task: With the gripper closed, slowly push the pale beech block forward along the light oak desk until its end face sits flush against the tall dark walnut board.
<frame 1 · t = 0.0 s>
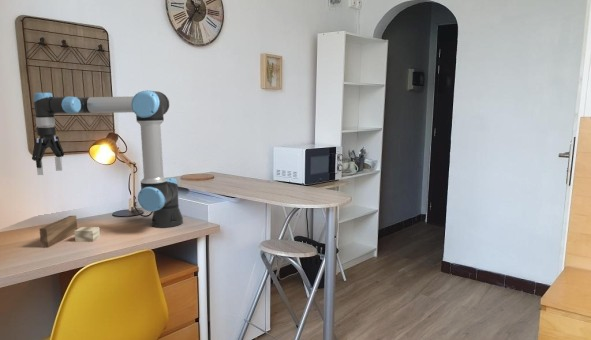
hand: (50, 172, 201), 28 cm above the table, fingers open, 13 cm apart
beech block: (88, 240, 190), on the table
walnut board: (60, 239, 191), on the table
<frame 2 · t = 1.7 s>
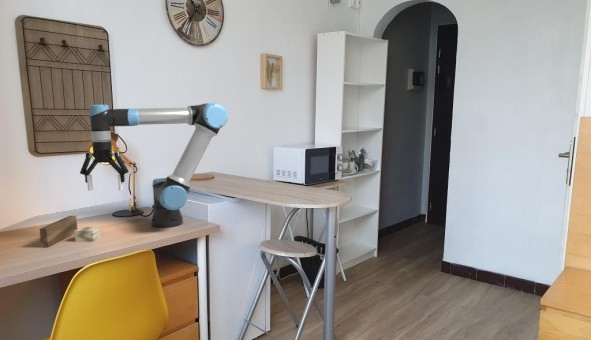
hand: (105, 190, 187), 22 cm above the table, fingers open, 13 cm apart
nothing on the table moved.
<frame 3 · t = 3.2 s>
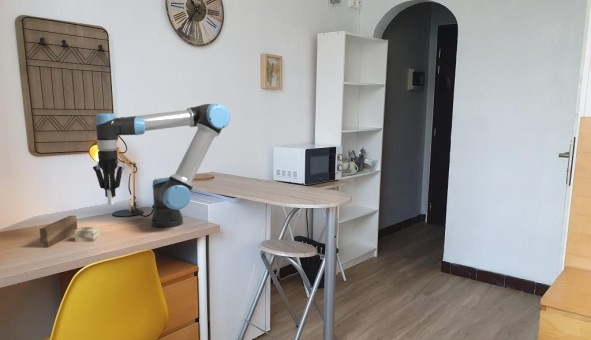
hand: (111, 204, 187), 16 cm above the table, fingers closed
nothing on the table moved.
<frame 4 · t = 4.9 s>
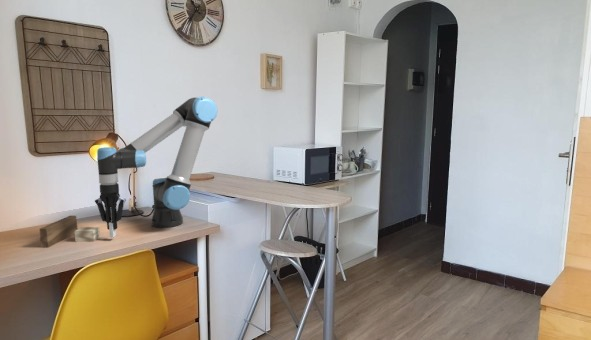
hand: (112, 236, 189), 1 cm above the table, fingers closed
nothing on the table moved.
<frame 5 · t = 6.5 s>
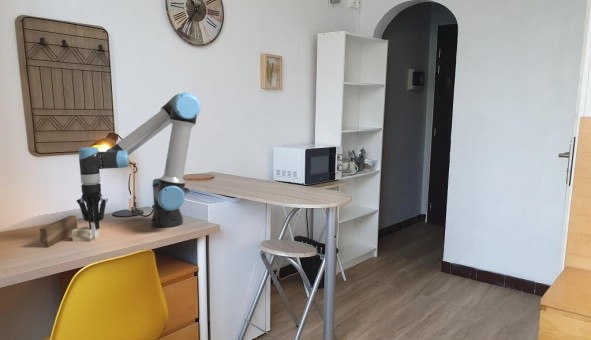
hand: (95, 236, 189), 2 cm above the table, fingers closed
beech block: (85, 239, 190), on the table, touching gripper
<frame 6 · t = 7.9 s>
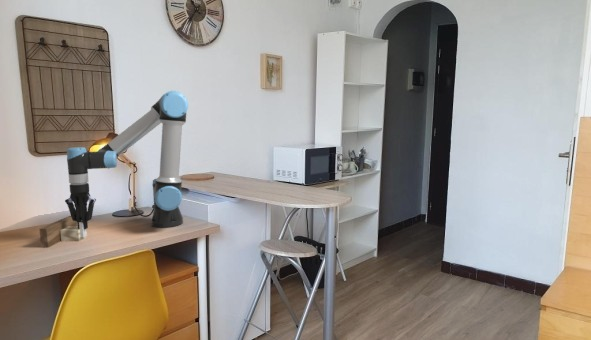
hand: (83, 236, 190), 2 cm above the table, fingers closed
beech block: (74, 239, 191), on the table, touching gripper
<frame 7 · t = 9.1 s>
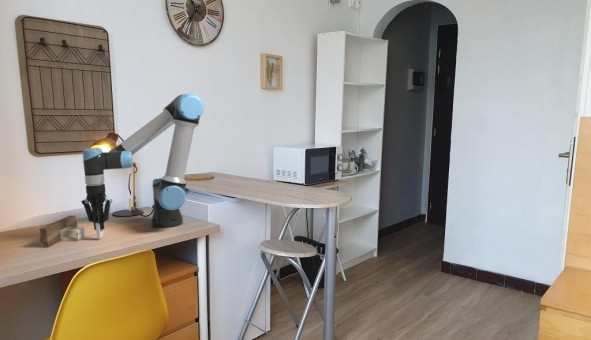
hand: (100, 236, 190), 1 cm above the table, fingers closed
beech block: (73, 239, 191), on the table
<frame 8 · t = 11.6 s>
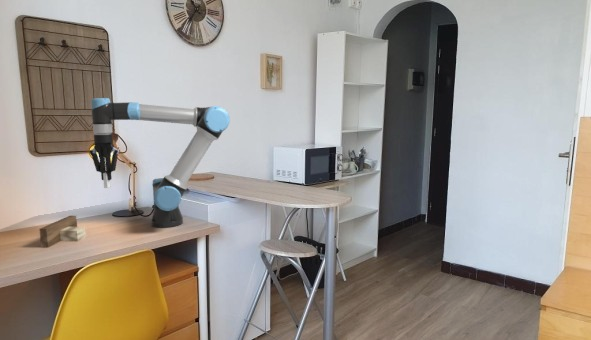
hand: (107, 187, 191), 22 cm above the table, fingers closed
nothing on the table moved.
at the end: beech block inside the target area on the table beside the walnut board (0.5 cm from its centre), on the table; beech block tilted 0° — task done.
